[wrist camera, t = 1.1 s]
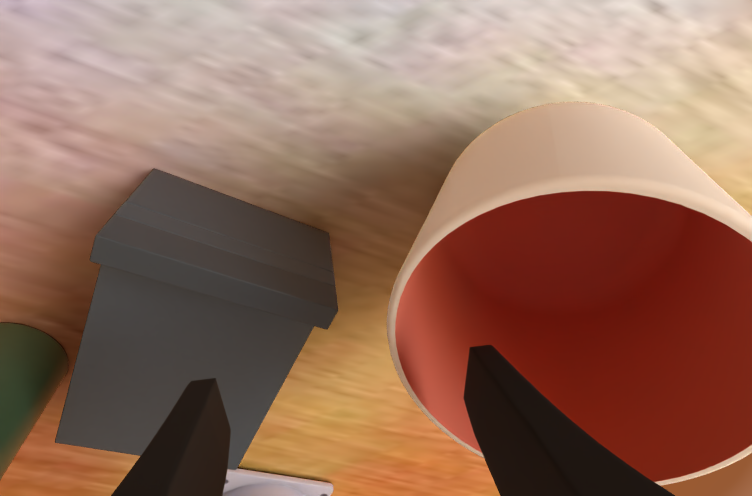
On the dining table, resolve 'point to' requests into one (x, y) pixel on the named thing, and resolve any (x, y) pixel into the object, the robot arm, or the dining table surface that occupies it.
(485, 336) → the cup
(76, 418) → the grey channel-top block
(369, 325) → the dining table surface
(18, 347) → the canister
